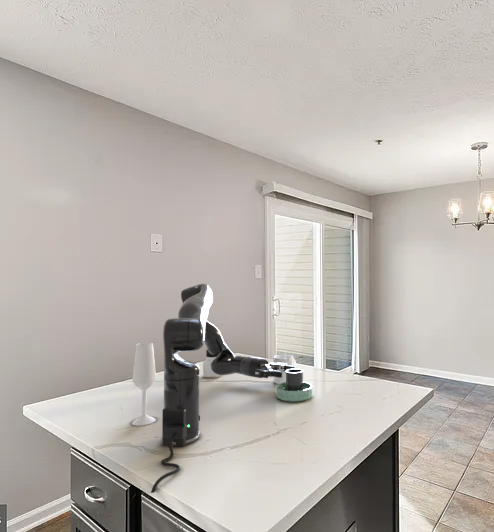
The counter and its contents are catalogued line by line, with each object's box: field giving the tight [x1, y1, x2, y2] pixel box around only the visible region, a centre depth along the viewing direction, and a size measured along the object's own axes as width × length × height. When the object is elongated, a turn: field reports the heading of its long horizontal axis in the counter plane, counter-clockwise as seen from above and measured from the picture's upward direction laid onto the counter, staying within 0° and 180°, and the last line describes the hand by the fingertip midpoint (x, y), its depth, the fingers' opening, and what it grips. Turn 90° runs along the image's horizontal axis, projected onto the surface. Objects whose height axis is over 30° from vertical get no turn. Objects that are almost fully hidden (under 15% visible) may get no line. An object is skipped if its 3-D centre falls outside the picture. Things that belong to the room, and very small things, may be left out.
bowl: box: [276, 381, 313, 403], centre depth 141 cm, size 13×13×4 cm
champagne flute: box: [131, 341, 157, 427], centre depth 117 cm, size 7×7×24 cm
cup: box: [286, 368, 304, 391], centre depth 141 cm, size 6×6×9 cm
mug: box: [272, 353, 297, 385], centre depth 162 cm, size 9×12×11 cm
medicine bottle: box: [202, 349, 222, 378], centre depth 171 cm, size 7×7×12 cm
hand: (288, 372), depth 142 cm, fingers open, 8 cm apart
